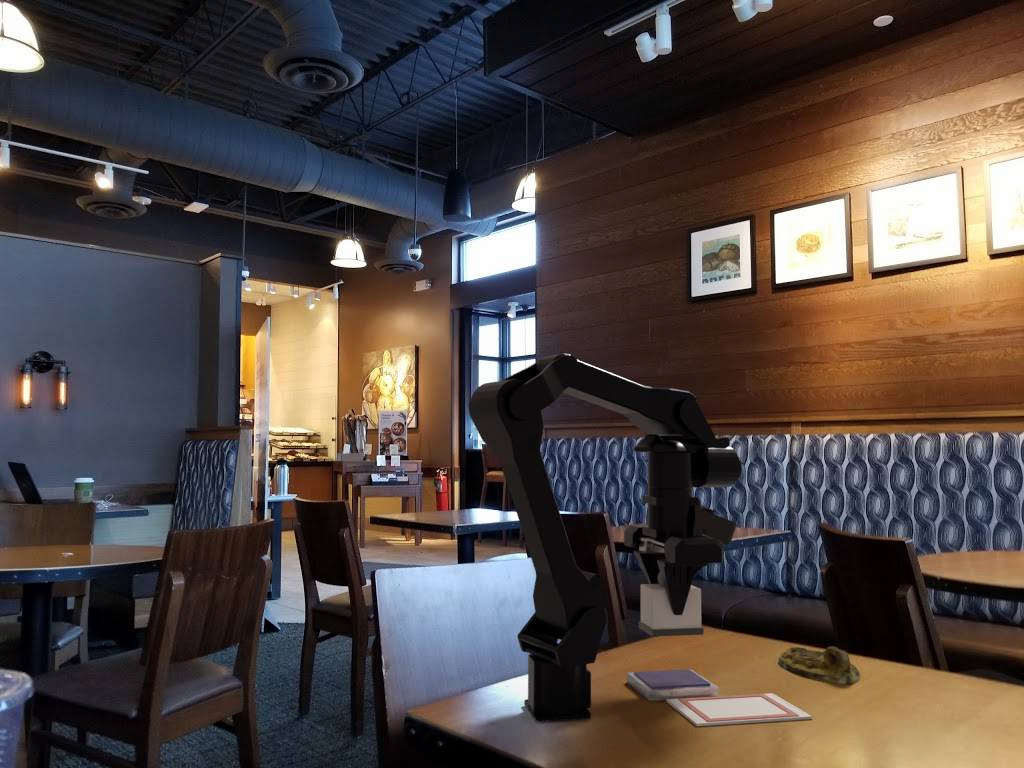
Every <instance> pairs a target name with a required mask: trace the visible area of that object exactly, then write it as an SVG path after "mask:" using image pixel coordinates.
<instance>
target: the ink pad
mask: <svg viewBox="0 0 1024 768" xmlns="http://www.w3.org/2000/svg"><path fill="white" fill-rule="evenodd" d="M626 682H627V683H628V684H629V685H630V686H631V687H632V688H634V689H635V690H636V691H637V692H639V694H640V695H642V696H643V697H644V698H645V699H646V700H648V701H649V702H658V701H659V702H660V701H666V699H680V698H697V697H715V696H720V695H719V694H720V693H719V686H717V685H716V684H715V683H713V682H711V681H710V680H708V679H707V678H705V677H704V676H702V675H701V674H699V673H697V672H696V671H695V670H693V669H689V668H688V669H686V668H685V669H669V670H668V669H666V670H665V669H663V670H652V671H651V670H648V671H633V672H632V671H631V672H626Z"/></svg>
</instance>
